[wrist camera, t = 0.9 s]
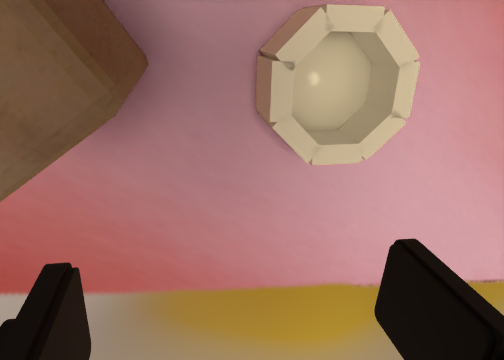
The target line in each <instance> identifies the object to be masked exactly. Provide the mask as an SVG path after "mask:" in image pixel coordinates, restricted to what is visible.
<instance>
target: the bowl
mask: <svg viewBox="0 0 504 360" xmlns="http://www.w3.org/2000/svg"><path fill="white" fill-rule="evenodd" d="M260 52H261V53H262V54H263V55H264V56H257V78H256V109H257V110H258V111H259V112H258V114H259V115H260V116H261V117H262V118H263V119H264V120H265V121H266V122H267V123H268V124H269V125H270V126H271V127H272V128H273V129H274V130H275V131H276V132H277V133H278V134H279V135H280V136H281V138H282V139H283V140H284V141H285V142H286V143H287V144H288V145H289V146H290V147H291V148H292V149H293V150H294V151H295V152H296V153H297V154H298V155H299V156H300V157H301V158H302V159H303V160H304V161H305V162H306V163H308V162H309V163H310V164H311V165H328V164H346V163H361V161H362V158H363V159H365V160H367V159H368V158H369V157H370V156H372V155H373V154H374V153H375V152H376V151H377V150H378V149H379V148H380V147H381V146H382V145H383V144H384V143H386V142H387V141H388V140H389V139H390V138H391V137H392V136H393V135H394V134H395V133H396V132H397V131H399V130H400V129H401V128H402V127H403V126H404V125H405V124H406V122H405V121H404V119H403V118H409V117H410V112H411V107H412V102H413V97H414V92H415V87H416V82H417V77H418V72H419V67H420V62H418V61H415V60H416V59H417V58H418V57H419V56H420V55H419V54H418V52H417V51H416V49H415V48H414V46H413V44H412V43H411V41H410V40H409V38H408V37H407V35H406V33H405V32H404V30H403V29H402V27H401V26H400V24H399V22H398V21H397V19H396V18H395V16H394V15H393V13H392V11H391V10H385V7H383V6H357V5H331V4H326V5H319V6H312V7H305V8H303V9H302V10H297V11H296V12H295V13H294V14H293V15H292V16H291V18H290V19H289V20H288V21H287V22H286V23H285V24H284V25H283V26H282V27H281V28H280V29H279V30H278V31H277V32H276V33H275V34H274V35H273V36H272V37H271V38H270V40H269V41H268V42H267V43H266V44H265V45H264V46H263V47H262V48H261V49H260Z"/></svg>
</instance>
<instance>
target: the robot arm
mask: <svg viewBox="0 0 504 360" xmlns="http://www.w3.org/2000/svg"><path fill="white" fill-rule="evenodd" d="M375 317H376V319H377V321H378V322H379V324H380V325H381V327H382V328H383V329H384V331H385V333H386V334H387V336H388V337H389V338H390V340H391V341H392V343H393V344H394V346H395V347H396V349H397V350H398V352H399V353H400V354H401V356H402V357H403V359H404V360H504V316H503V315H502V314H501V313H500V312H499V311H498V310H497V309H495V308H494V307H493V306H492V305H491V304H490V303H488V302H487V301H486V300H485V299H484V298H483V297H482V296H481V295H479V294H478V293H477V292H476V291H475V290H474V289H473V288H471V287H470V286H469V285H468V284H467V283H466V282H465V281H464V280H462V279H461V278H460V277H459V276H458V275H457V274H456V273H454V272H453V271H452V270H451V269H450V268H449V267H448V266H446V265H445V264H444V263H443V262H442V261H441V260H440V259H439V258H437V257H436V256H435V255H434V254H433V253H432V252H431V251H429V250H428V249H427V248H426V247H425V246H424V245H423V244H421V243H420V242H419V241H418V240H416V239H400V240H396V241H395V242H394V244H393V245H391V246H390V249H389V253H388V257H387V261H386V265H385V269H384V273H383V277H382V281H381V285H380V289H379V293H378V297H377V301H376V305H375ZM90 353H91V338H90V333H89V326H88V321H87V315H86V308H85V302H84V296H83V290H82V284H81V278H80V272H79V269H78V268H77V267H76V268H72V266H71V264H70V263H55V264H46V265H45V266H44V267H43V269H42V271H41V273H40V274H39V276H38V278H37V280H36V282H35V284H34V286H33V287H32V289H31V291H30V293H29V295H28V297H27V299H26V300H25V303H24V304H23V306H22V308H21V310H20V312H19V314H18V315H17V317H16V319H8V320H6V321H5V322H3V324H2V325H1V326H0V360H89V358H90Z"/></svg>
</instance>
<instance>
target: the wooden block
mask: <svg viewBox="0 0 504 360" xmlns="http://www.w3.org/2000/svg"><path fill="white" fill-rule="evenodd" d="M147 65H148V63H147V59H146V56H145V54H144V53H143V52H142V51H141V49H140V48H139V47H138V45H137V44H136V43H135V42H134V40H133V39H132V38H131V37H130V35H129V34H128V33H127V31H126V30H125V29H124V28H123V26H122V25H121V24H120V22H119V21H118V20H117V19H116V17H115V16H114V15H113V13H112V12H111V11H110V10H109V8H108V7H107V6H106V4H105V3H104V2H103V1H102V0H0V202H1V201H2V200H4V199H5V198H6V197H8V196H9V195H10V194H12V193H13V192H14V191H16V190H17V189H18V188H20V187H21V186H22V185H24V184H25V183H26V182H28V181H29V180H30V179H32V178H33V177H34V176H36V175H37V174H38V173H40V172H41V171H42V170H43V169H45V168H46V167H47V166H49V165H50V164H51V163H53V162H54V161H55V160H57V159H58V158H59V157H61V156H62V155H63V154H65V153H66V152H67V151H69V150H70V149H71V148H73V147H74V146H75V145H77V144H78V143H79V142H81V141H82V140H83V139H85V138H86V137H87V136H89V135H90V134H91V133H93V132H94V131H95V130H97V129H98V128H99V127H101V126H102V125H103V124H105V123H106V122H107V121H109V120H110V119H111V118H113V117H114V116H115V115H116V113H117V112H118V110H119V109H120V107H121V106H122V104H123V103H124V101H125V99H126V98H127V96H128V95H129V93H130V92H131V90H132V89H133V87H134V86H135V84H136V83H137V81H138V80H139V78H140V77H141V75H142V74H143V72H144V71H145V69H146V67H147Z"/></svg>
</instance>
